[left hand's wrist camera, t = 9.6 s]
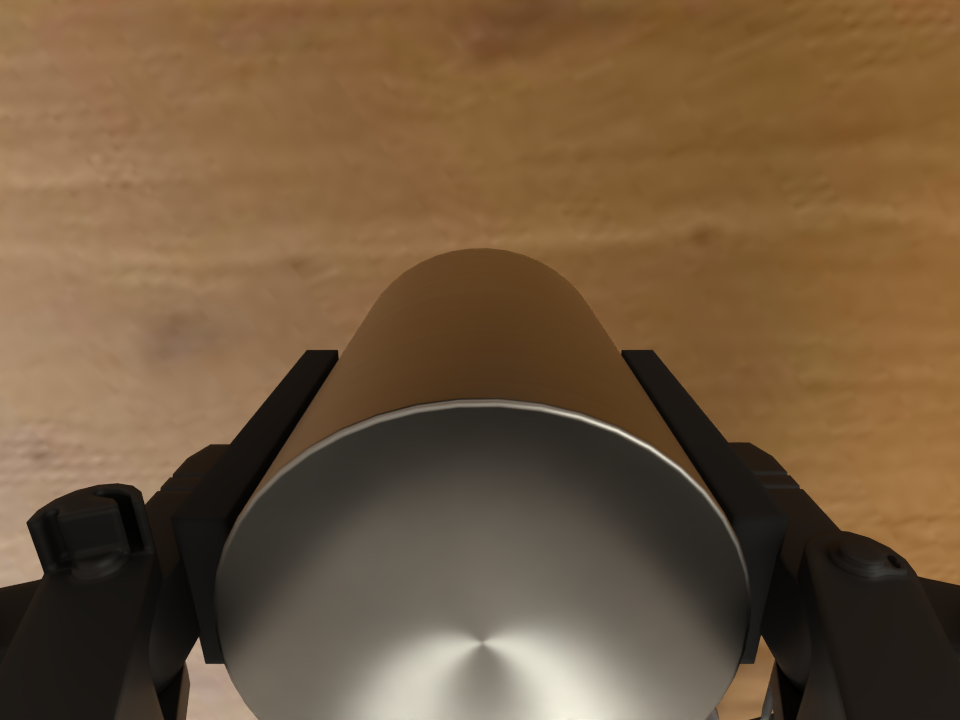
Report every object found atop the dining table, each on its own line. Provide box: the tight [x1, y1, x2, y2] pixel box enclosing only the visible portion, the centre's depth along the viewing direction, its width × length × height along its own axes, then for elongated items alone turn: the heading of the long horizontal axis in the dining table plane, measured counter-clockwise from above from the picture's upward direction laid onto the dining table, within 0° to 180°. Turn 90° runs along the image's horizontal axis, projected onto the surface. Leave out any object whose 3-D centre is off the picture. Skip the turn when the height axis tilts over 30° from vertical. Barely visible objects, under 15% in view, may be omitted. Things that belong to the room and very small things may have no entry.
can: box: [213, 248, 751, 720], centre depth 12 cm, size 7×7×9 cm
